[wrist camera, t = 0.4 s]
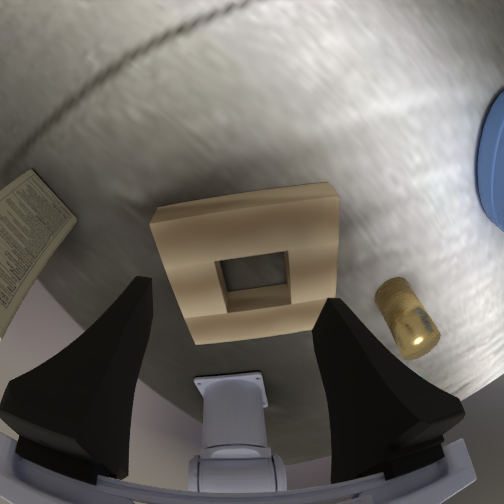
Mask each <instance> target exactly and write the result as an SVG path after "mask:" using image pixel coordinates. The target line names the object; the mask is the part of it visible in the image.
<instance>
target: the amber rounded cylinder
mask: <svg viewBox="0 0 504 504" xmlns="http://www.w3.org/2000/svg"><path fill="white" fill-rule="evenodd" d="M375 302H376V304H377V306H378V308H379V310H380V312H381V314H382V315H383V317H384V319H385V321H386V323H387V325H388V327H389V329H390V331H391V333H392V335H393V337H394V340H395V342H396V344H397V346H398V348H399V350H400V352H401V354H402V356H403V358H404V359H405V360H414V359H417V358H419V357H421V356H423V355H425V354H427V353H428V352H429V351H431V350H432V349H433V348H434V347H435V346H436V344H437V343H438V341H439V339H440V336H441V335H440V332H439V331H438V329H437V327H436V326H435V324H434V322H433V321H432V319H431V317H430V316H429V314H428V313H427V311H426V310H425V308H424V306H423V305H422V303H421V302H420V300H419V299H418V297H417V296H416V294H415V293H414V291H413V290H412V288H411V287H410V285H409V284H408V282H407V281H406V280H405V279H404V278H400V277H397V278H393V279H390V280H388V281H386V282H385V283H384V284H382V285H381V286H380V288H379V289H378V290H377V292H376V294H375Z"/></svg>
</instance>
